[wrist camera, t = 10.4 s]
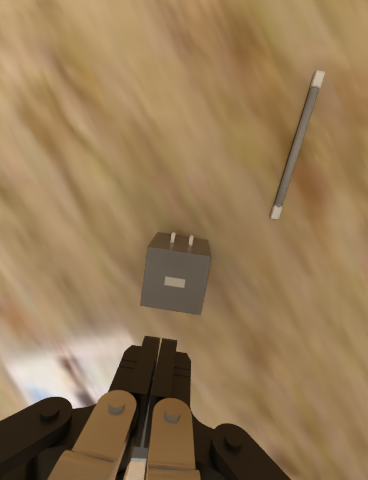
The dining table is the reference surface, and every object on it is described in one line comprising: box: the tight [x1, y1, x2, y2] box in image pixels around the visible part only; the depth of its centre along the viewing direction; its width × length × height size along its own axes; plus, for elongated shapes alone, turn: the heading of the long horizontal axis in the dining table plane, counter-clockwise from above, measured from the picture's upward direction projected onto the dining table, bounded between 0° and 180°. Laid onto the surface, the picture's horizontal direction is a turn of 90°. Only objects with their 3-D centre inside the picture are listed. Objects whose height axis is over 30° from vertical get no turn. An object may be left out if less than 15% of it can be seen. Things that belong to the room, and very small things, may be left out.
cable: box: [270, 70, 325, 220], centre depth 24 cm, size 13×1×1 cm, turn 167°
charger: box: [140, 232, 211, 315], centre depth 25 cm, size 5×6×6 cm
